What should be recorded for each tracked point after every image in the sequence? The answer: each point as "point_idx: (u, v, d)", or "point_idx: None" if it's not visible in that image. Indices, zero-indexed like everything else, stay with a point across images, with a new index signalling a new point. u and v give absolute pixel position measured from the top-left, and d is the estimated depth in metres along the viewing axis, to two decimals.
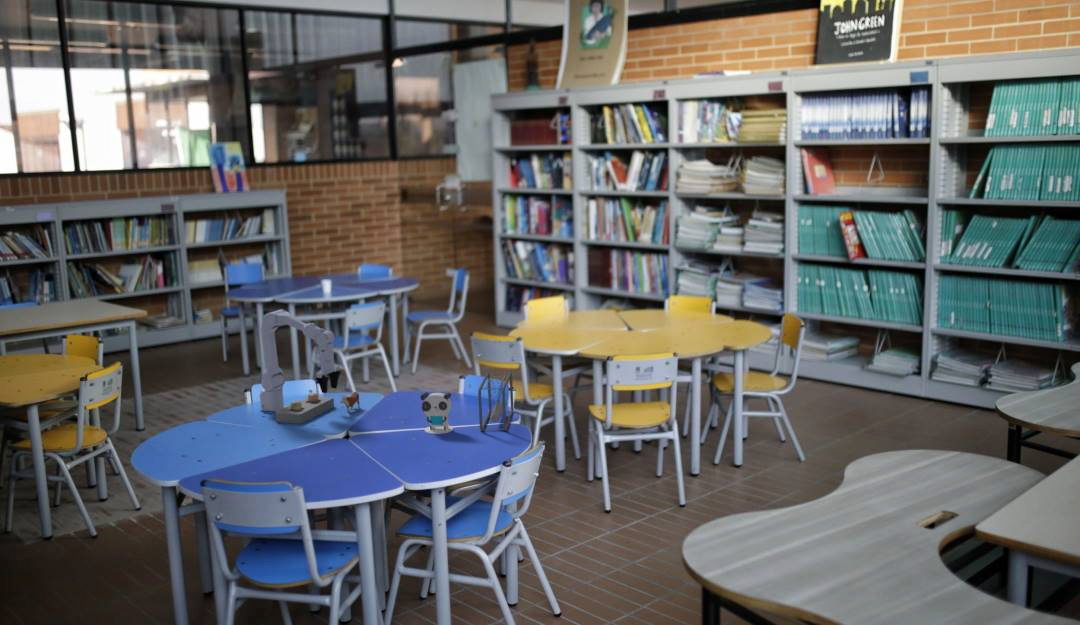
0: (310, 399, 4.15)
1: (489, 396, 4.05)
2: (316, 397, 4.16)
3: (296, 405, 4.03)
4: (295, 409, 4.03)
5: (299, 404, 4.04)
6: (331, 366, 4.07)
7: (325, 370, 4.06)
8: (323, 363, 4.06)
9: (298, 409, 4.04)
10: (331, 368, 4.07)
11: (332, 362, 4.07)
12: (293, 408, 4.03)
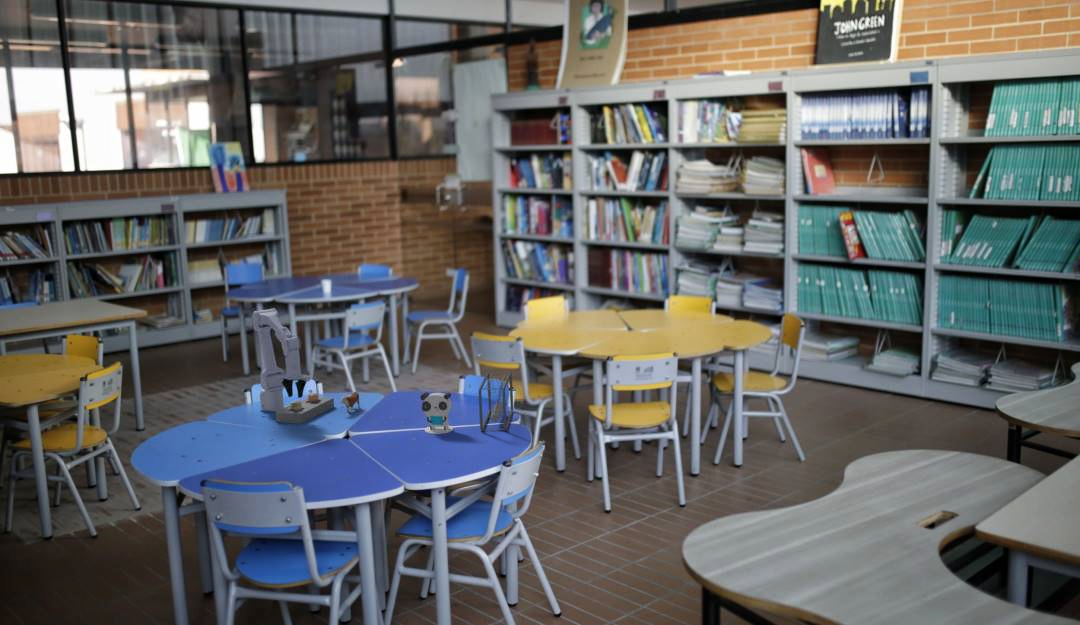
0: (310, 399, 4.15)
1: (489, 396, 4.05)
2: (316, 397, 4.16)
3: (296, 405, 4.03)
4: (295, 409, 4.03)
5: (299, 404, 4.04)
6: (287, 373, 4.00)
7: None
8: None
9: (298, 409, 4.04)
10: (287, 375, 4.01)
11: (288, 369, 4.00)
12: (293, 408, 4.03)
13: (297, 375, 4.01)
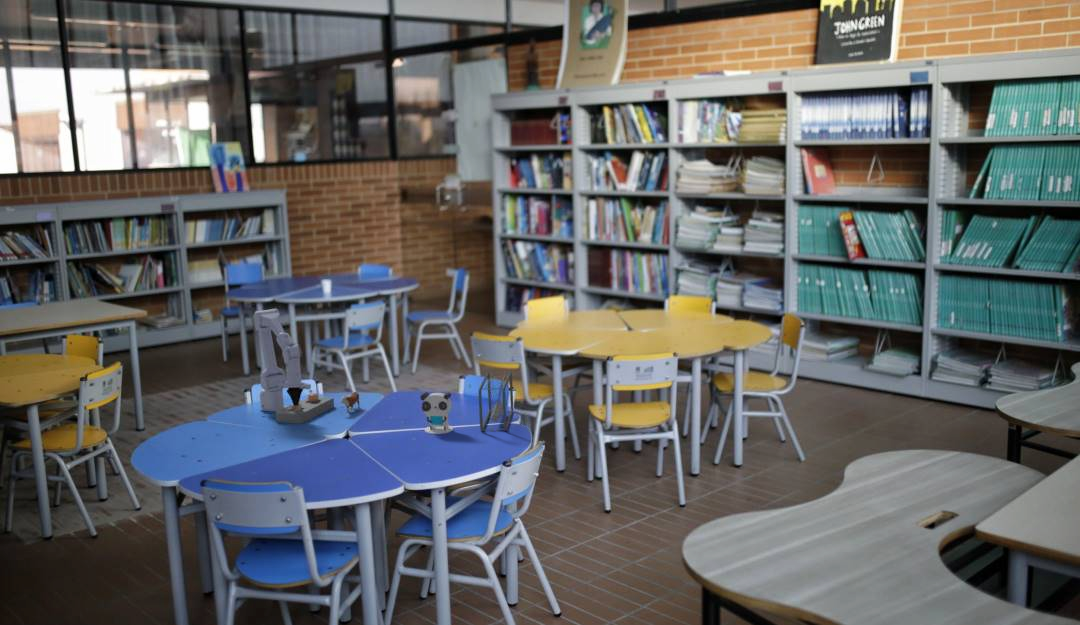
0: (310, 399, 4.15)
1: (489, 396, 4.05)
2: (316, 397, 4.16)
3: (296, 407, 4.03)
4: None
5: (299, 406, 4.04)
6: (288, 381, 4.01)
7: None
8: None
9: None
10: (288, 383, 4.01)
11: (289, 377, 4.00)
12: (293, 410, 4.03)
13: (298, 383, 4.01)
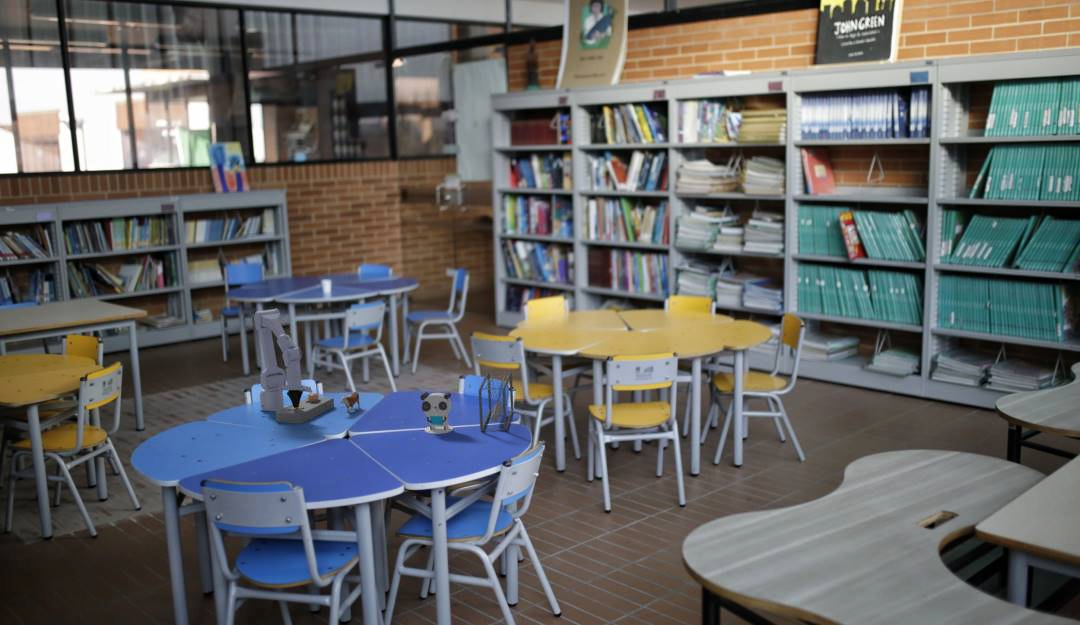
0: (310, 399, 4.15)
1: (489, 396, 4.05)
2: (316, 397, 4.16)
3: None
4: None
5: (299, 410, 4.04)
6: (288, 383, 4.01)
7: None
8: None
9: None
10: (288, 385, 4.01)
11: (289, 380, 4.01)
12: None
13: (298, 386, 4.02)
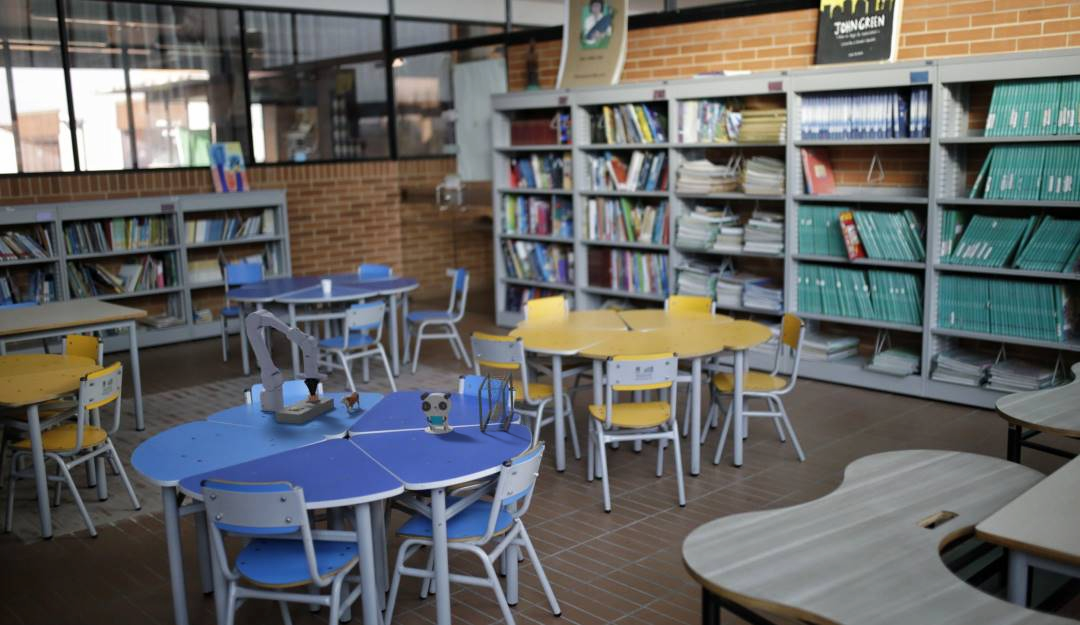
0: (310, 400, 4.15)
1: (489, 396, 4.05)
2: (316, 398, 4.16)
3: None
4: None
5: (299, 410, 4.04)
6: (305, 372, 4.13)
7: None
8: None
9: None
10: (305, 374, 4.13)
11: (306, 368, 4.12)
12: None
13: (315, 374, 4.13)
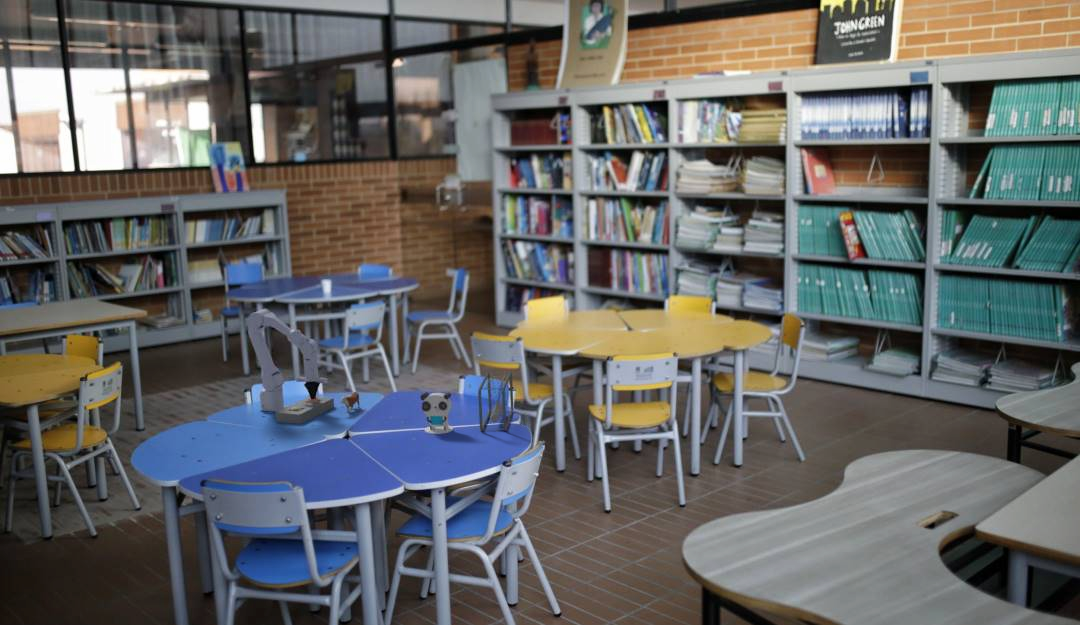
0: None
1: (489, 396, 4.05)
2: (316, 401, 4.16)
3: None
4: None
5: (299, 410, 4.04)
6: (305, 375, 4.13)
7: None
8: None
9: None
10: (306, 377, 4.13)
11: (306, 372, 4.12)
12: None
13: (315, 377, 4.14)
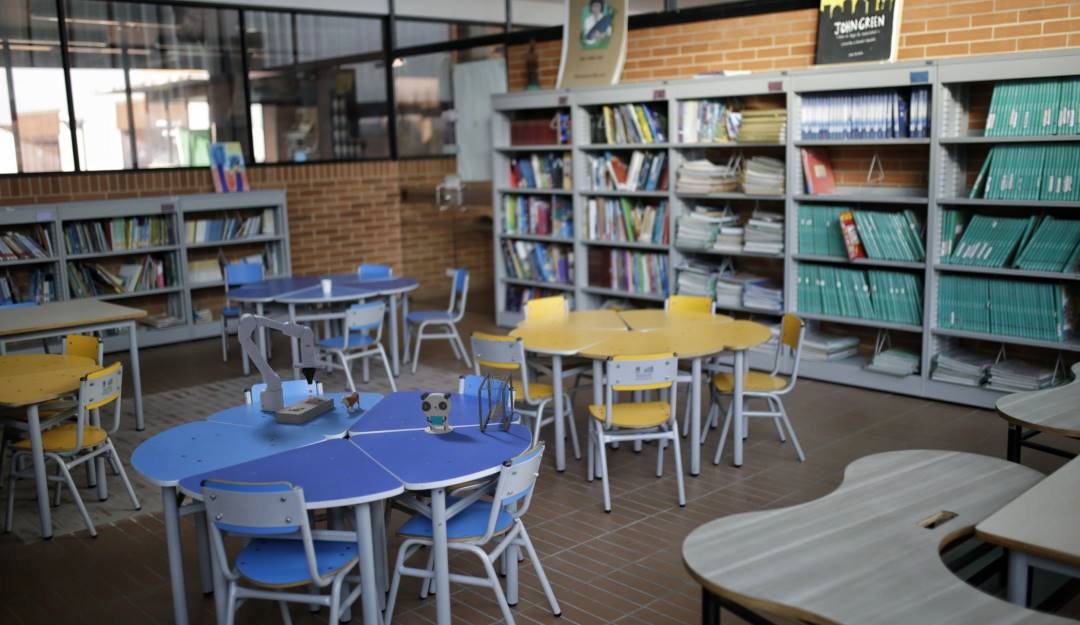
0: None
1: (489, 396, 4.05)
2: (316, 401, 4.16)
3: None
4: None
5: (299, 410, 4.04)
6: (303, 361, 4.21)
7: (302, 363, 4.24)
8: None
9: None
10: (303, 363, 4.21)
11: (304, 358, 4.21)
12: None
13: (313, 363, 4.22)
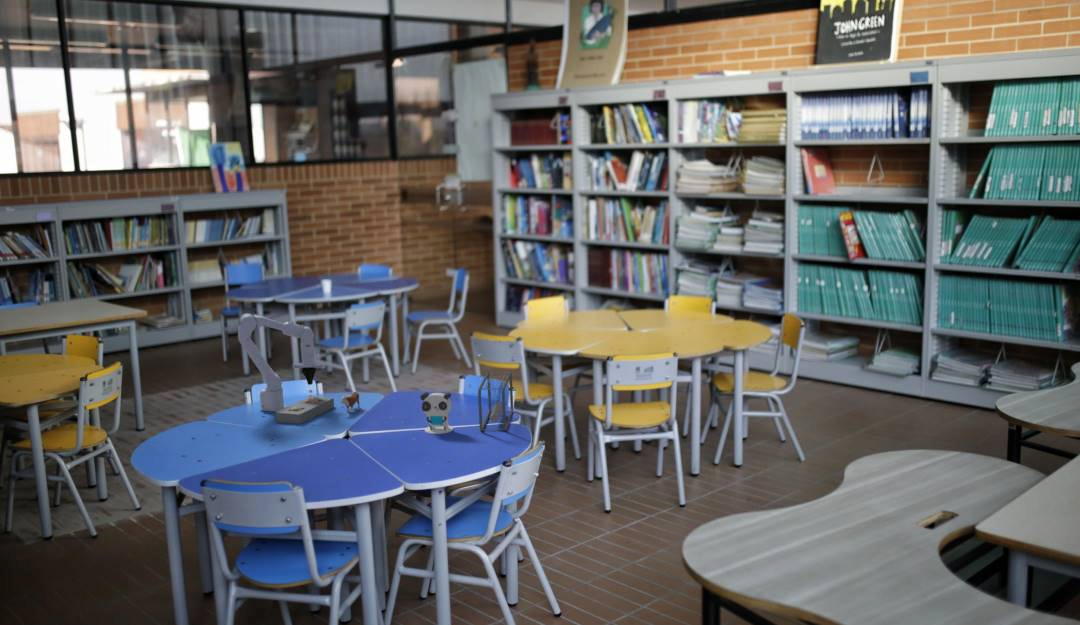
0: None
1: (489, 396, 4.05)
2: (316, 401, 4.16)
3: None
4: None
5: (299, 410, 4.04)
6: (303, 361, 4.21)
7: (302, 363, 4.24)
8: None
9: None
10: (303, 363, 4.21)
11: (304, 358, 4.21)
12: None
13: (313, 363, 4.22)
